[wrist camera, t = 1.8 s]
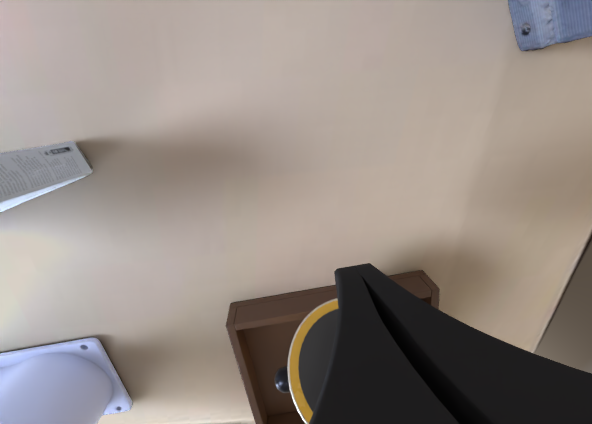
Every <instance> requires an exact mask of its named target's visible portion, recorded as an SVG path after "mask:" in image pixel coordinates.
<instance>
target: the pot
mask: <svg viewBox="0 0 592 424" xmlns="http://www.w3.org/2000/svg"><path fill="white" fill-rule="evenodd" d="M337 318H338V299H337V298H336V299H332V300H330V301H327V302H325V303H323V304H321V305H319V306H318V307H316V308H315V309H314V310H312V311H311V312H310V313H309V314H308V315H307V316H306V317H305V318H304V320H303V321H302V322H301V324H300V325H299V327H298V329H297V330H296V332H295V334H294V337H293V339H292V342H291V346H290V349H289V355H288V366H283V367H281V368H280V369H278V371H277V372H276V374H275V385H276V387H277V389H278V390H279V391H281V392H283V393H289V392H291V395H292V398H293V401H294V404H295V406H296V408H297V411H298V412H299V414H300V416H301V418H302V419H303V421H304V422H305V424H309V422H310V420H311V417H312V415H313V412H314V409H315V406H316V404H317V401H318V398H319V395H320V392H321V389H322V386H323V383H324V380H325V376H326V373H327V369H328V365H329V361H330V357H331V353H332V349H333V344H334V339H335V333H336V327H337Z"/></svg>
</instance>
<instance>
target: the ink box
mask: <svg viewBox="0 0 592 424" xmlns="http://www.w3.org/2000/svg"><path fill="white" fill-rule="evenodd" d="M92 173H93V170H92V166H91V164H90V163H89V162H88V160H87V159H86V157H85V156H84V154H83V153H82V152H81V150H80V148H79V147H78V146H77V144H76V143H75V142H74V141H68V142H64V143H59V144H53V145H47V146H41V147H35V148H28V149H22V150H15V151H10V152H4V153H0V212H2V211H5V210H7V209H9V208H12V207H14V206H17V205H19V204H21V203H23V202H26V201H28V200H31V199H33V198H35V197H38V196H40V195H43V194H45V193H48V192H50V191H52V190H55V189H57V188H60V187H62V186H65V185H67V184H69V183H72V182H74V181H76V180H79V179H81V178H83V177H86V176H88V175H90V174H92Z"/></svg>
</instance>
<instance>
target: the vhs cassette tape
mask: <svg viewBox="0 0 592 424" xmlns="http://www.w3.org/2000/svg"><path fill="white" fill-rule="evenodd" d="M508 3H509V8H510V13H511V17H512V22H513V26H514V31H515V36H516V40H517V43H518V46H519V48H520V50H521V51H528V50H537V49H543V48H545V47H547V46H549V45H551V44H556V43H567V42H570V41H574V40H578V39H582V38H586V37H590V36H592V0H508Z"/></svg>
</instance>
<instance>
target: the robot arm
mask: <svg viewBox="0 0 592 424" xmlns="http://www.w3.org/2000/svg"><path fill="white" fill-rule="evenodd" d="M335 281H336V290H337V299H338V318H337V327H336V333H335V339H334V344H333V349H332V353H331V357H330V361H329V365H328V369H327V373H326V376H325V380H324V383H323V386H322V389H321V392H320V395H319V398H318V401H317V404H316V406H315V409H314V412H313V415H312V417H311V420H310V422H309V424H592V374H591V373H588V372H584V371H581V370H578V369H575V368H572V367H569V366H566V365H564V364H561V363H558V362H555V361H552V360H550V359H547V358H544V357H541V356H539V355H536V354H533V353H531V352H528V351H526V350H523V349H520V348H518V347H515V346H513V345H511V344H508V343H506V342H504V341H501V340H499V339H497V338H494V337H492V336H490V335H487V334H485V333H483V332H481V331H479V330H477V329H474V328H472V327H470V326H468V325H466V324H464V323H462V322H460V321H458V320H457V319H455V318H453V317H451V316H449V315H447V314H445V313H443V312H441V311H440V310H438V309H436V308H435V307H433V306H431V305H430V304H428V303H426V302H425V301H423V300H421V299H420V298H418V297H417V296H415V295H413V294H412V293H410V292H409V291H407V290H406V289H405V288H403V287H402V286H400V285H399V284H397V283H396V282H394V281H393V280H392V279H390V278H389V277H388V276H386V275H385V274H384V273H382V272H381V271H379V270H378V269H377V268H375V267H374V266H373V265H371V264H370V263H368V264H362V265H357V266H351V267H345V268H339V269H337V270H336V271H335ZM132 405H133V402H132V400H131V398H130V397H129V395H128V393H127V391H126V389H125V387H124V385H123V383H122V382H121V380H120V378H119V376H118V374H117V372H116V370H115V369H114V367H113V365H112V363H111V361H110V359H109V357H108V356H107V354H106V352H105V350H104V348H103V346H102V344H101V342H100V341H99V340H98V339H97V338H87V339H81V340H75V341H69V342H63V343H58V344H52V345H46V346H40V347H35V348H29V349H23V350H17V351H11V352H6V353H0V424H97V423H98V421H99V420H100V418H101V416H102V415H107V414H112V413H118V412H123V411H128V410H130V409H131V407H132Z"/></svg>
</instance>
